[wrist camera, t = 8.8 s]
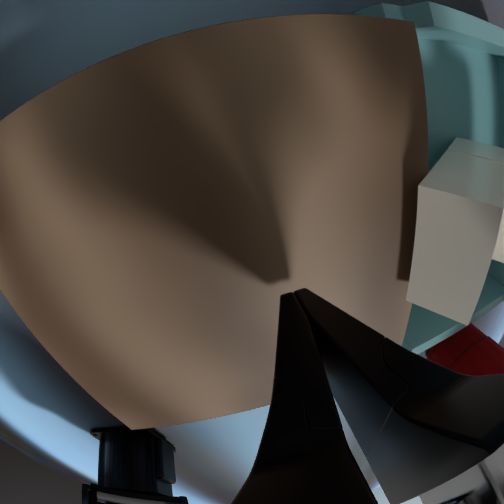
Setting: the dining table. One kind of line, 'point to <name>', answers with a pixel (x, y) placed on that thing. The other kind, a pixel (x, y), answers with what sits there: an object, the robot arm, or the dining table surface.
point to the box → (455, 120)
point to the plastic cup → (469, 353)
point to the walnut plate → (213, 205)
